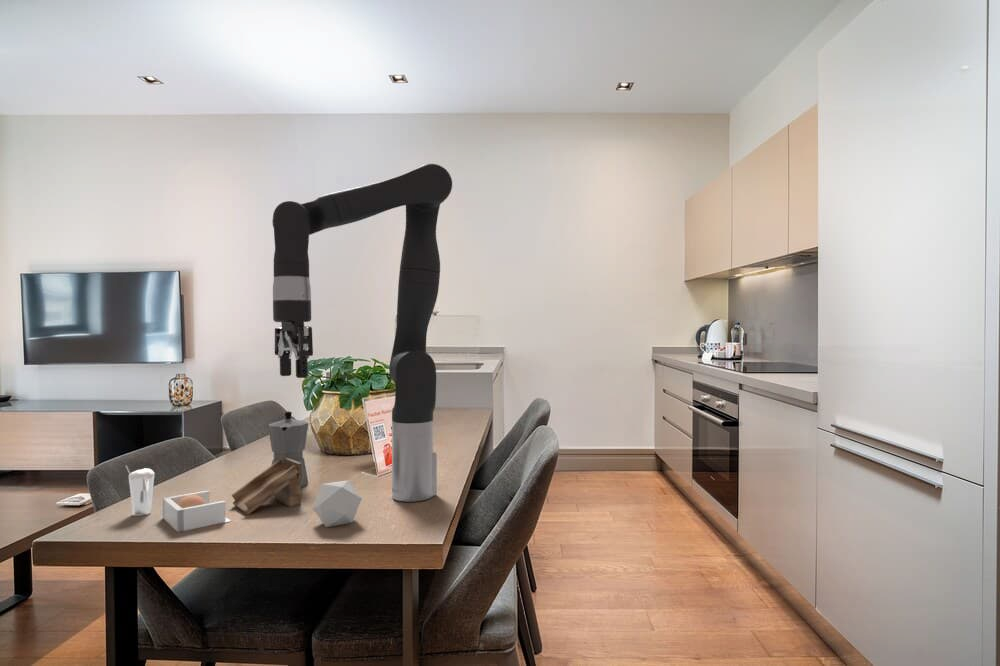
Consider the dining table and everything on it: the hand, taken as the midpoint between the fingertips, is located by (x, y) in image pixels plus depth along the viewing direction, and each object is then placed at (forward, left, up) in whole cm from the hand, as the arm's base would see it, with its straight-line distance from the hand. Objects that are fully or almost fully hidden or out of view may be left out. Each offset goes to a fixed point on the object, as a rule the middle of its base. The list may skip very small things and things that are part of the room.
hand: (293, 376), depth 120 cm
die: (-3, +14, -28) cm, 31 cm away
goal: (+17, -7, -28) cm, 34 cm away
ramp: (+3, -7, -28) cm, 29 cm away
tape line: (+13, -7, -28) cm, 31 cm away
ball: (+18, -7, -25) cm, 32 cm away
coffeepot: (-8, -21, -28) cm, 36 cm away
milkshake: (+24, -19, -28) cm, 42 cm away
